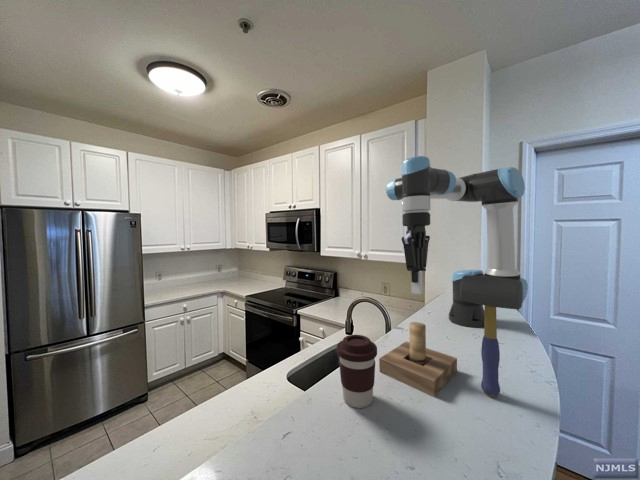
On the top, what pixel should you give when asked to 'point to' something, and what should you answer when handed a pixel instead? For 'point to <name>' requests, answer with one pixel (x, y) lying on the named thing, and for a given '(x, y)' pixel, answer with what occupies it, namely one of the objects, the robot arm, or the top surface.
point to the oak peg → (418, 343)
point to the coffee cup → (357, 369)
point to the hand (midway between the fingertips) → (416, 293)
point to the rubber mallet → (491, 318)
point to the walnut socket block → (419, 369)
